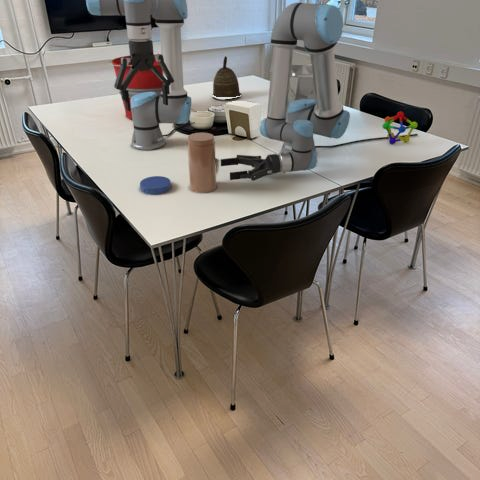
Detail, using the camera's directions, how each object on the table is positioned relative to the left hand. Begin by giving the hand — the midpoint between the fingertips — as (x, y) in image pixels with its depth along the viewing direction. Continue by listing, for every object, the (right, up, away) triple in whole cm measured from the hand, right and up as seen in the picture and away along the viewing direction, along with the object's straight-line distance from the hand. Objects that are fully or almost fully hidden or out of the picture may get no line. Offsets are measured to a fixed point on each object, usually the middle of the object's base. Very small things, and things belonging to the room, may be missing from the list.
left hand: (147, 107), depth 151 cm
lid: (0, -24, +15) cm, 28 cm away
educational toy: (+106, +1, +59) cm, 121 cm away
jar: (+18, -25, +17) cm, 35 cm away
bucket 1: (-19, +25, +97) cm, 102 cm away
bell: (+23, +45, +130) cm, 140 cm away
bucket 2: (+61, +15, +82) cm, 103 cm away
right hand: (+26, -19, +16) cm, 36 cm away
